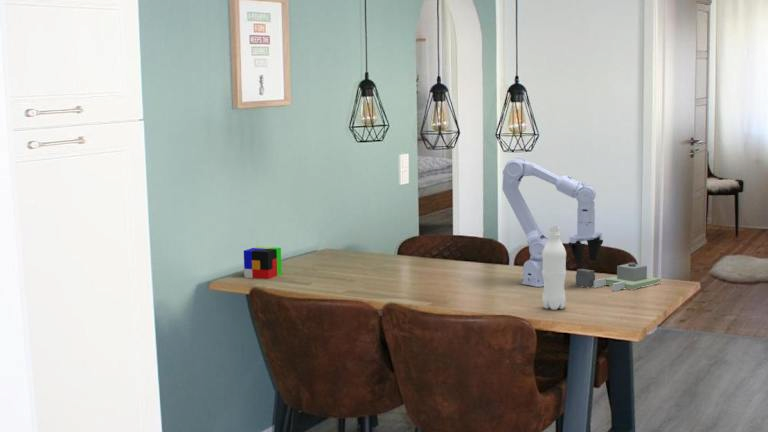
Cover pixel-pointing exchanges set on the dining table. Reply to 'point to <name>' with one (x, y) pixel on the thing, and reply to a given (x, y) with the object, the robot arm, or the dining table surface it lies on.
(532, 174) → the robot arm
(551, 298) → the water bottle
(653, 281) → the stepped base plate
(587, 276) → the grey block
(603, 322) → the dining table surface
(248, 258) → the puzzle toy
